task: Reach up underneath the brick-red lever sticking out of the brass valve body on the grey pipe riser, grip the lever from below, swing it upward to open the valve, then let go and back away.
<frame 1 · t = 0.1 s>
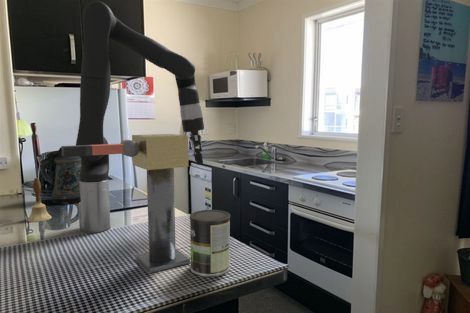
hand: (199, 162, 126), 22 cm above the table, tool pointing down, fingers open, 8 cm apart
lever: (102, 149, 84), point 31 cm above the table, hinge at 0.0°
coffee can: (210, 268, 91), on the table
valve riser: (162, 260, 95), on the table
hand bell: (39, 219, 134), on the table
beer stein: (68, 201, 164), on the table
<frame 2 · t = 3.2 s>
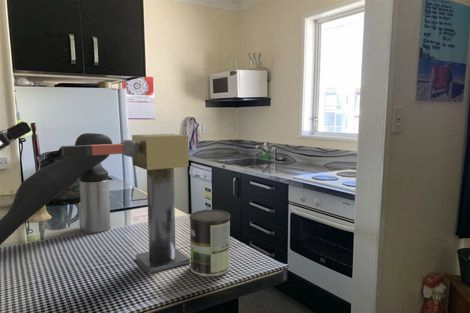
hand: (27, 125, 75), 37 cm above the table, tool pointing upward, fingers open, 8 cm apart
nothing on the table moved.
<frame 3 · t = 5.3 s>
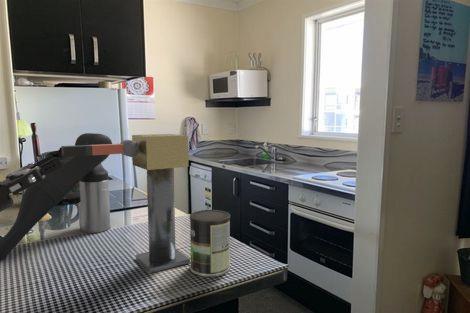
hand: (57, 159, 78), 29 cm above the table, tool pointing upward, fingers open, 8 cm apart
nothing on the table moved.
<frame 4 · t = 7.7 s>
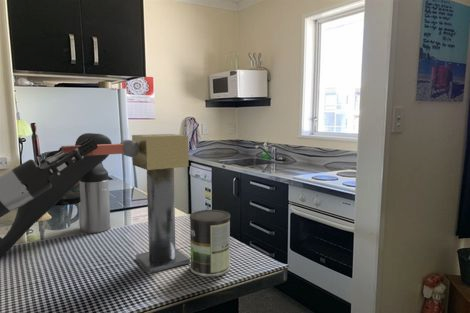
hand: (93, 142, 82), 33 cm above the table, tool pointing upward, fingers closed on lever, 3 cm apart
lever: (102, 149, 84), point 31 cm above the table, hinge at 0.0°, touching gripper
everything else where it was.
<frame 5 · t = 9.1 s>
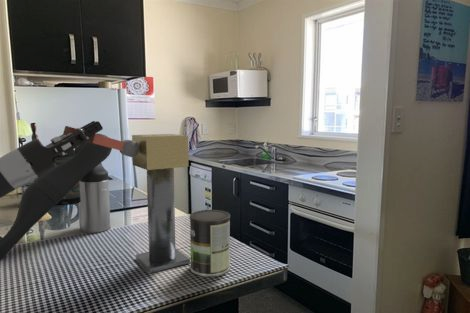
hand: (98, 124, 83), 37 cm above the table, tool pointing upward, fingers closed on lever, 3 cm apart
lever: (103, 141, 84), point 33 cm above the table, hinge at 18.0°, touching gripper
everything else where it was.
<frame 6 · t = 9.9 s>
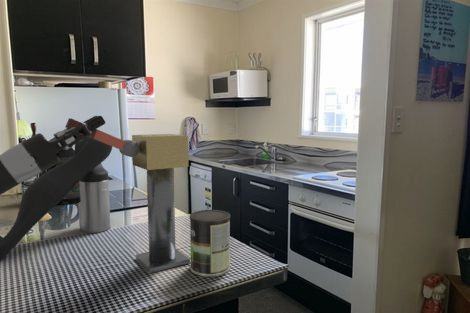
hand: (101, 119, 83), 38 cm above the table, tool pointing upward, fingers closed on lever, 3 cm apart
lever: (104, 137, 84), point 34 cm above the table, hinge at 25.2°, touching gripper
everything else where it was.
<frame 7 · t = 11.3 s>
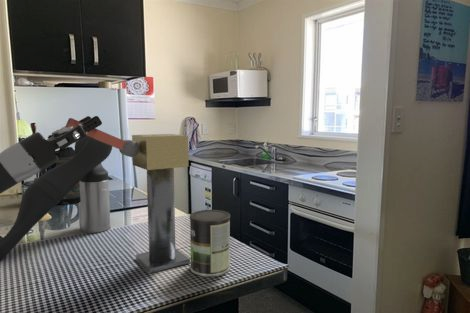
hand: (95, 119, 82), 38 cm above the table, tool pointing upward, fingers open, 8 cm apart
lever: (104, 137, 84), point 34 cm above the table, hinge at 25.5°
everything else where it was.
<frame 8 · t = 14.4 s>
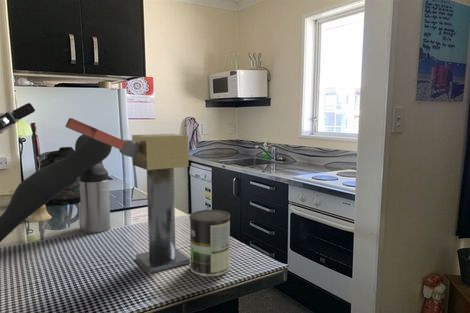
hand: (31, 107, 81), 41 cm above the table, tool pointing upward, fingers open, 8 cm apart
nothing on the table moved.
at the end: lever at +26° (first picture: +0°); the gripper is holding nothing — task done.
